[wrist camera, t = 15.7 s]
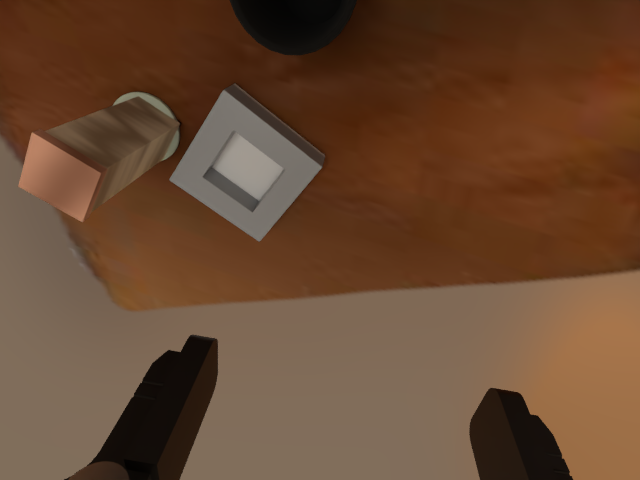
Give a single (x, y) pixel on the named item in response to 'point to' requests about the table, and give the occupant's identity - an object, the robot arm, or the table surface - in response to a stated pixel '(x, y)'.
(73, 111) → the table surface
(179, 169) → the socket block
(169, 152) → the pad
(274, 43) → the cup
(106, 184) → the plug
